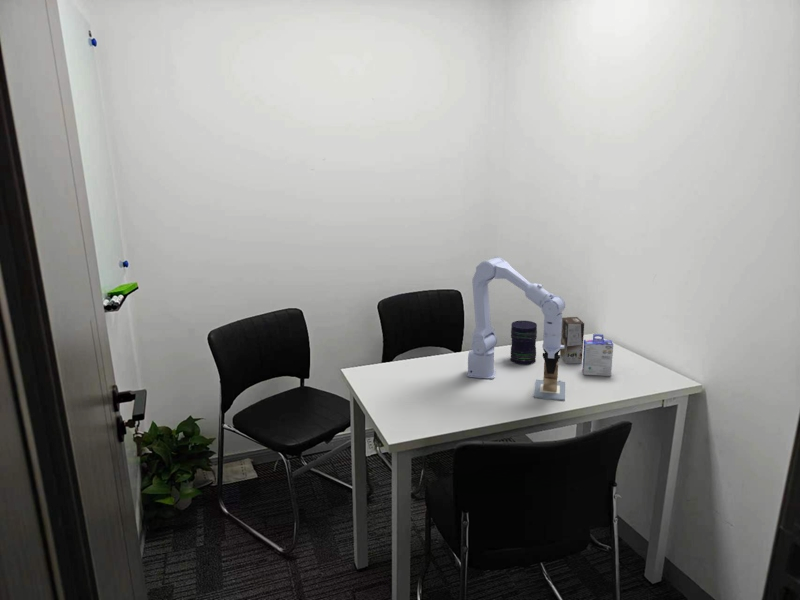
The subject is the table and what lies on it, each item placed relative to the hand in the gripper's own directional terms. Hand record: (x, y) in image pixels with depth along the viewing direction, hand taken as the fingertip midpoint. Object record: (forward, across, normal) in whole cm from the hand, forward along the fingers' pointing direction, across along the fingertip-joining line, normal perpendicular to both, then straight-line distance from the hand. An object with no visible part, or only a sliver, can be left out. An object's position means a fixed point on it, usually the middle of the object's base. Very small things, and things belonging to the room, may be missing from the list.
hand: (550, 370), depth 182 cm
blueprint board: (+7, 0, 0) cm, 7 cm away
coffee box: (+8, +31, -7) cm, 33 cm away
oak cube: (+7, 0, 0) cm, 7 cm away
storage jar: (+8, +26, +11) cm, 29 cm away
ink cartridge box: (+8, +19, -16) cm, 26 cm away
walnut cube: (+2, 0, 0) cm, 2 cm away
